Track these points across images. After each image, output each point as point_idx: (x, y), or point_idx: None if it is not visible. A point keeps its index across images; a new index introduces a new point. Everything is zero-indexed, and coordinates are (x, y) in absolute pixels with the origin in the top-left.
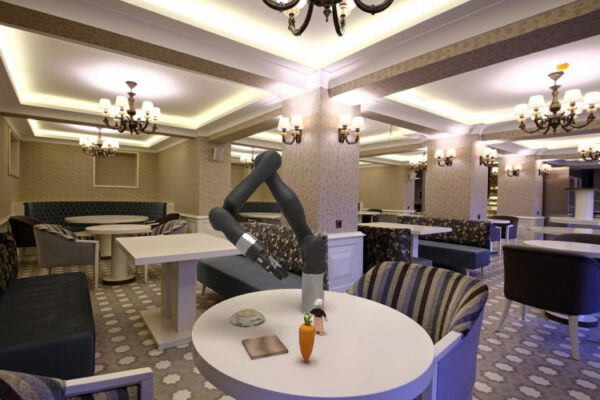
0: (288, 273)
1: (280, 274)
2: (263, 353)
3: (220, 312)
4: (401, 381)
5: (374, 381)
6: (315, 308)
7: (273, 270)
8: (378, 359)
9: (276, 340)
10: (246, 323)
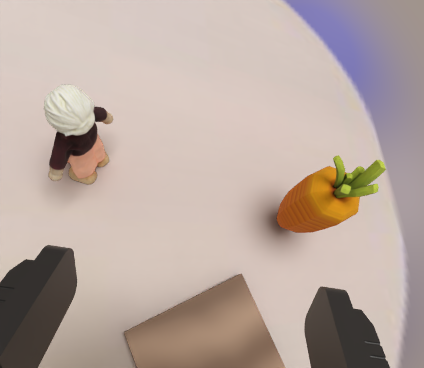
0: (62, 250)
1: (375, 331)
2: (275, 358)
3: None
4: (320, 46)
5: (330, 91)
6: (69, 137)
7: None
8: (245, 52)
9: (177, 322)
10: None
